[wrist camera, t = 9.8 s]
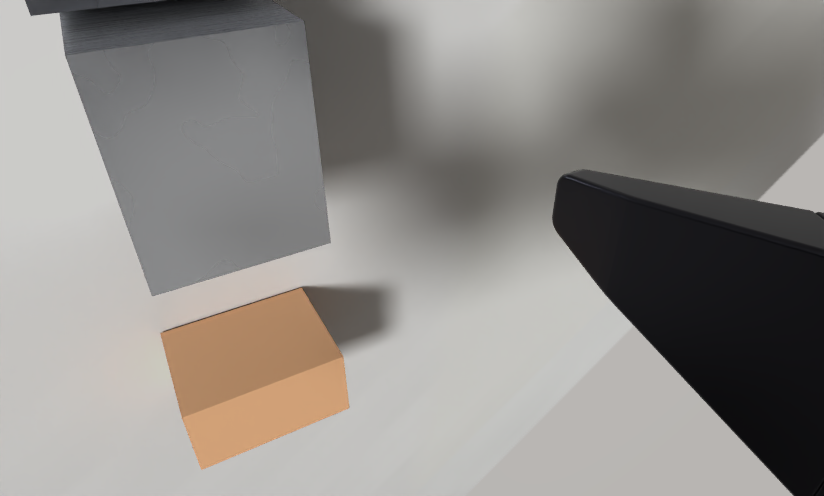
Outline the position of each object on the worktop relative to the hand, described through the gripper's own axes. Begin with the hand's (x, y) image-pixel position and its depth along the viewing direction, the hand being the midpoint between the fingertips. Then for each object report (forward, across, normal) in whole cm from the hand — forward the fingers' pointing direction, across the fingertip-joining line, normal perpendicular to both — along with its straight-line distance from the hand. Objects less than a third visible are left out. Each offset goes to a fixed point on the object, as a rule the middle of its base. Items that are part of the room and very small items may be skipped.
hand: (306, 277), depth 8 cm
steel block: (+10, 0, 0) cm, 10 cm away
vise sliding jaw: (+10, 0, +10) cm, 14 cm away
